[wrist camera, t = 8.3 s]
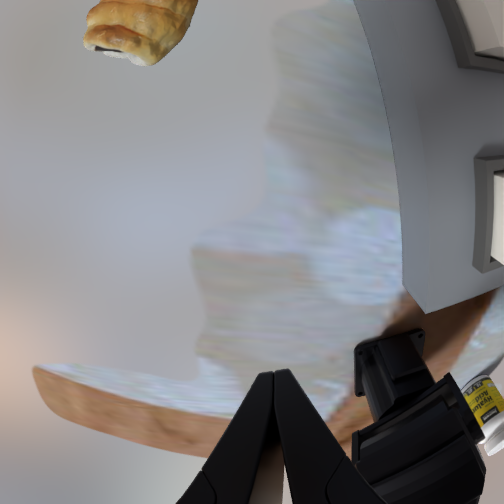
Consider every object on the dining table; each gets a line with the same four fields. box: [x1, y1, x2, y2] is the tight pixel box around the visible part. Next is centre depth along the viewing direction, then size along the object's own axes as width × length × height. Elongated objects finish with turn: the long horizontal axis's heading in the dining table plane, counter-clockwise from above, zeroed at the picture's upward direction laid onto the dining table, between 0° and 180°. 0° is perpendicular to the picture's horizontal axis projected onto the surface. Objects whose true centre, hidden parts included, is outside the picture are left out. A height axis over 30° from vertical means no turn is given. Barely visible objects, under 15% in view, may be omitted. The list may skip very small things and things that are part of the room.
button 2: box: [456, 0, 504, 61], centre depth 7 cm, size 5×5×3 cm
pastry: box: [83, 0, 198, 66], centre depth 11 cm, size 9×7×4 cm
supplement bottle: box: [461, 375, 504, 456], centre depth 21 cm, size 5×5×10 cm
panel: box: [353, 0, 504, 314], centre depth 12 cm, size 24×14×5 cm, turn 14°
